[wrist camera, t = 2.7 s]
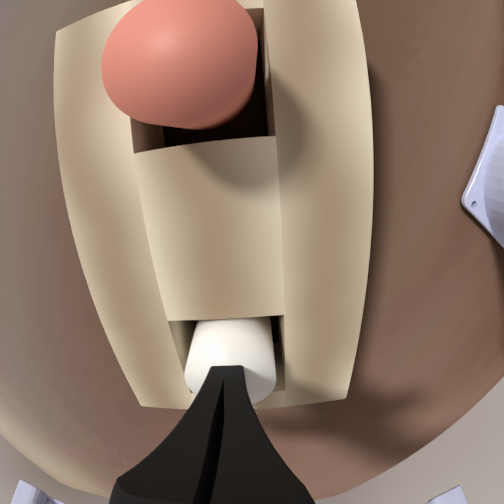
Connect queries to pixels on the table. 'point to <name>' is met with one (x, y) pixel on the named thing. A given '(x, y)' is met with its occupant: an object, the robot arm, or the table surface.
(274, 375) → the ivory plunger
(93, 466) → the table surface
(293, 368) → the press housing
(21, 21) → the table surface
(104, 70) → the pink rounded plug
